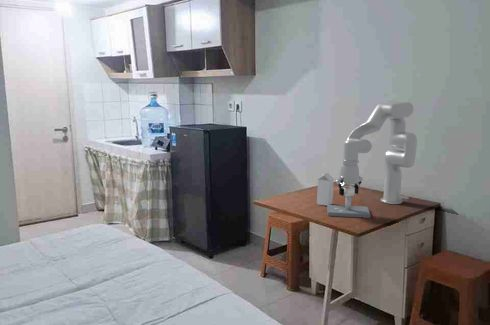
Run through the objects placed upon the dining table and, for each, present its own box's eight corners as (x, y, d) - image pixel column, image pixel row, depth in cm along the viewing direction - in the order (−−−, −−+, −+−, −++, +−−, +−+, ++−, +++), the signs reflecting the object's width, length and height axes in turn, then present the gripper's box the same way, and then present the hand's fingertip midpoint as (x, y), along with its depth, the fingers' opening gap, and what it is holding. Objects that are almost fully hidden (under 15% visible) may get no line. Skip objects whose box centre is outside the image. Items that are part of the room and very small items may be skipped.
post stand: (366, 210, 239) (367, 192, 238) (370, 218, 225) (371, 199, 223) (326, 208, 243) (327, 190, 241) (327, 215, 228) (328, 197, 226)
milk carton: (332, 203, 252) (333, 172, 249) (328, 206, 246) (329, 174, 243) (321, 201, 256) (322, 170, 253) (316, 204, 250) (318, 172, 247)
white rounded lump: (350, 193, 236) (351, 185, 235) (356, 195, 230) (356, 187, 229) (341, 193, 234) (341, 185, 233) (346, 196, 228) (346, 188, 228)
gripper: (358, 161, 236) (356, 191, 239) (332, 163, 229) (331, 194, 232) (367, 163, 229) (365, 194, 232) (341, 165, 222) (340, 197, 225)
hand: (348, 194), depth 232 cm, fingers open, 9 cm apart
